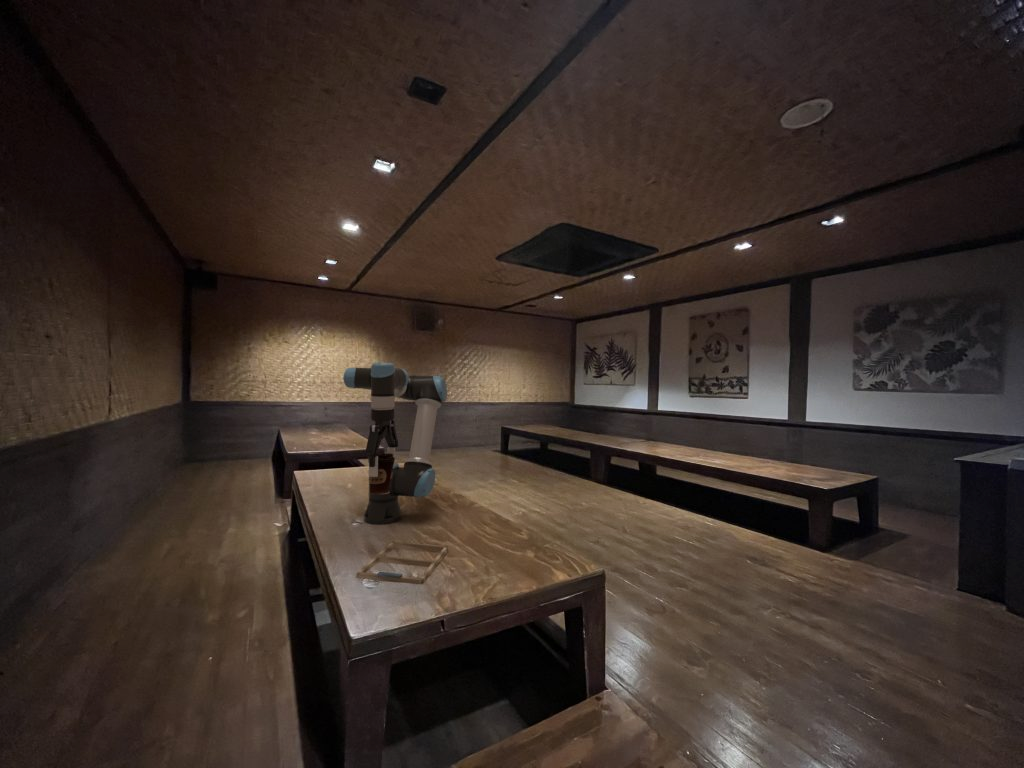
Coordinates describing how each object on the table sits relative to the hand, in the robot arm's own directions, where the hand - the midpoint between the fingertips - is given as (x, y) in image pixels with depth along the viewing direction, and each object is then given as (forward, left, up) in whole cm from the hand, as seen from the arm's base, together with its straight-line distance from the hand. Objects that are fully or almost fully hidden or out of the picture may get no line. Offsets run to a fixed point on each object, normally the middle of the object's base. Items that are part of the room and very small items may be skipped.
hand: (382, 470), depth 134 cm
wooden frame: (+9, +13, -27) cm, 31 cm away
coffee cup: (+3, +1, -7) cm, 8 cm away
